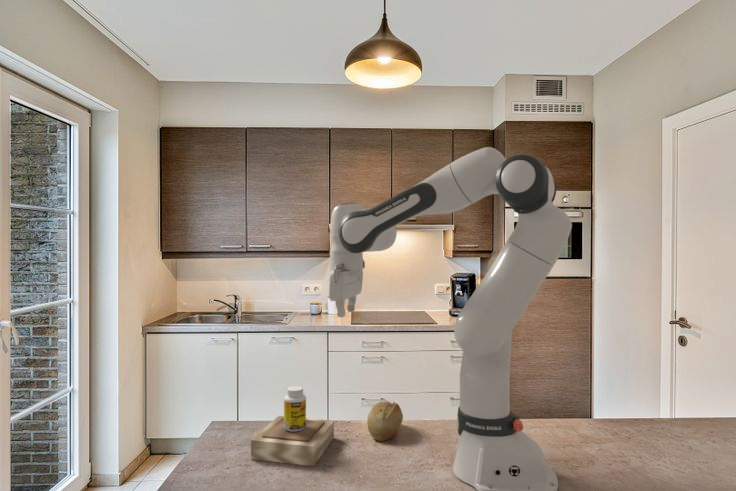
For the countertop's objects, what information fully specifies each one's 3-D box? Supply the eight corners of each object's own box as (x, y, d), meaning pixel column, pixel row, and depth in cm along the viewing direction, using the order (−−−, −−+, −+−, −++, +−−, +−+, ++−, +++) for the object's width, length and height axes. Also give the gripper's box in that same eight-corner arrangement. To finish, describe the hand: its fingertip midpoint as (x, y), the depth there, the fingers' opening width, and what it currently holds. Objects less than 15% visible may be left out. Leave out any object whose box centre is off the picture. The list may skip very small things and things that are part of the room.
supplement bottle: (289, 434, 111) (289, 393, 111) (280, 427, 115) (280, 387, 115) (309, 429, 114) (309, 389, 114) (300, 422, 119) (300, 383, 119)
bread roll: (404, 422, 131) (404, 395, 131) (400, 445, 117) (400, 414, 117) (372, 420, 133) (372, 393, 133) (364, 442, 118) (364, 412, 118)
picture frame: (333, 437, 121) (333, 419, 121) (313, 466, 105) (313, 444, 105) (278, 432, 124) (278, 414, 124) (250, 459, 109) (250, 438, 109)
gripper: (347, 264, 111) (347, 320, 111) (366, 262, 131) (366, 309, 131) (322, 264, 113) (322, 319, 113) (345, 261, 132) (345, 308, 132)
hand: (346, 314), depth 122 cm, fingers open, 8 cm apart
